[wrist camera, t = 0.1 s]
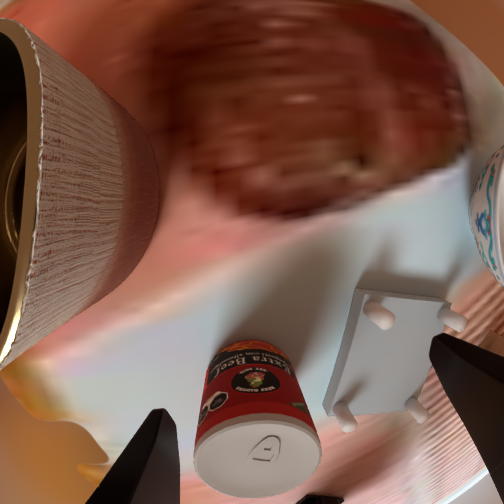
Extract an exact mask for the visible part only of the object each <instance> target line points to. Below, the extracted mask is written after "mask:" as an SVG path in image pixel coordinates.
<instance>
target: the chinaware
mask: <svg viewBox="0 0 504 504" xmlns="http://www.w3.org/2000/svg"><path fill="white" fill-rule="evenodd" d="M469 220H470V226H471V230H472V232H473V235H474V237H475V240H476V244H477V247H478V250H479V252H480V255H481V257H482V259H483V261H484V263H485V265H486V267H487V268H488V270H489V271H490V273H491V274H492V275H493V277H494V278H495V279H496V280H497V281H498V282H499V283H500V284H501V285H502V286H503V287H504V145H503V146H502V147H501V148H499V149H498V150H497V151H496V152H495V153H494V154H493V155H492V156H491V157H490V159H489V160H488V161H487V163H486V164H485V166H484V168H483V169H482V171H481V173H480V176H479V178H478V181H477V184H476V187H475V191H474V193H473V195H472V197H471V201H470V207H469Z"/></svg>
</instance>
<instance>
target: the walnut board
mask: <svg viewBox="0 0 504 504" xmlns="http://www.w3.org/2000/svg"><path fill="white" fill-rule="evenodd" d="M479 347H481V348H483V349H486V350H488V351H491V352H493V353H496V354H498V355H501V356H503V357H504V337H502V336H501V335H499V334H497V333H495V332H493V331H491V330H490V332H489V333H488V335H487V336H486V337H485V339H484V340H483V342H482V343H481V345H480V346H479Z"/></svg>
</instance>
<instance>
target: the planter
mask: <svg viewBox="0 0 504 504" xmlns="http://www.w3.org/2000/svg"><path fill="white" fill-rule="evenodd" d="M158 207H159V175H158V169H157V164H156V160H155V156H154V153H153V150H152V147H151V145H150V142H149V140H148V138H147V137H146V135H145V133H144V131H143V130H142V128H141V127H140V126H139V124H138V123H137V122H136V120H135V119H134V118H133V117H132V116H131V115H130V114H129V113H128V112H127V111H126V110H125V109H124V108H123V107H122V106H121V105H120V104H119V103H117V102H116V101H115V100H114V99H113V98H112V97H110V96H109V95H108V94H107V93H106V92H104V91H103V90H102V89H101V88H100V87H98V86H97V85H96V84H95V83H93V82H92V81H91V80H90V79H88V78H87V77H86V76H85V75H84V74H82V73H81V72H80V71H79V70H78V69H76V68H75V67H74V66H73V65H71V64H70V63H69V62H68V61H66V60H65V59H64V58H63V57H62V56H60V55H59V54H58V53H57V52H56V51H54V50H53V49H52V48H51V47H50V46H48V45H47V44H46V43H45V42H43V41H42V40H41V39H40V38H39V37H37V36H36V35H35V34H34V33H33V32H31V31H30V30H29V29H28V28H26V27H25V26H24V25H22V24H21V23H19V22H17V21H15V20H12V19H8V18H0V370H1V369H2V368H4V367H5V366H6V365H8V364H9V363H10V362H12V361H13V360H14V359H15V358H17V357H18V356H19V355H21V354H22V353H24V352H25V351H26V350H28V349H29V348H30V347H32V346H33V345H34V344H36V343H37V342H39V341H40V340H41V339H43V338H44V337H46V336H47V335H48V334H50V333H51V332H53V331H54V330H56V329H57V328H59V327H60V326H62V325H63V324H64V323H66V322H67V321H69V320H70V319H72V318H73V317H75V316H76V315H78V314H79V313H81V312H82V311H84V310H86V309H87V308H89V307H90V306H92V305H93V304H95V303H96V302H98V301H99V300H101V299H102V298H104V297H105V296H106V295H108V294H109V293H110V292H112V291H113V290H114V289H115V288H117V287H118V286H119V285H120V284H121V283H122V282H123V281H124V280H125V279H126V278H127V277H128V276H129V275H130V274H131V273H132V271H133V270H134V269H135V267H136V266H137V264H138V263H139V261H140V260H141V258H142V256H143V255H144V253H145V251H146V249H147V247H148V244H149V242H150V239H151V237H152V234H153V231H154V227H155V223H156V219H157V214H158Z"/></svg>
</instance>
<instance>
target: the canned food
mask: <svg viewBox="0 0 504 504" xmlns="http://www.w3.org/2000/svg"><path fill="white" fill-rule="evenodd" d="M193 456H194V467H195V471H196V473H197V475H198V477H199V478H200V479H201V480H202V481H203V482H204V483H205V484H206V485H207V486H209V487H210V488H212V489H214V490H216V491H218V492H220V493H223V494H226V495H229V496H233V497H238V498H265V497H271V496H275V495H279V494H282V493H285V492H287V491H290V490H292V489H294V488H296V487H297V486H299V485H301V484H302V483H304V482H305V481H306V480H307V479H309V478H310V477H311V476H312V474H313V473H314V472H315V471H316V469H317V468H318V466H319V464H320V461H321V457H322V451H321V446H320V440H319V437H318V435H317V431H316V428H315V426H314V423H313V420H312V418H311V415H310V412H309V410H308V407H307V405H306V402H305V399H304V397H303V394H302V391H301V389H300V386H299V384H298V381H297V378H296V376H295V373H294V370H293V368H292V365H291V363H290V361H289V359H288V358H287V356H286V355H285V354H284V353H283V352H282V351H281V350H279V349H278V348H276V347H275V346H273V345H271V344H269V343H266V342H263V341H258V340H244V341H239V342H236V343H233V344H231V345H229V346H227V347H226V348H224V349H223V350H221V351H220V352H219V353H218V354H217V355H216V356H215V357H214V359H213V360H212V361H211V363H210V364H209V367H208V369H207V372H206V377H205V383H204V389H203V395H202V401H201V407H200V414H199V420H198V426H197V433H196V439H195V448H194V455H193Z"/></svg>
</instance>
